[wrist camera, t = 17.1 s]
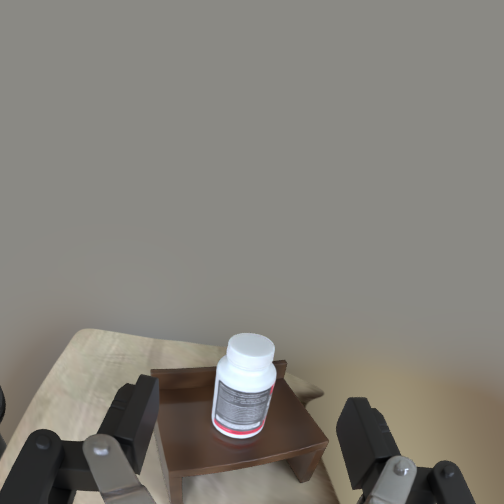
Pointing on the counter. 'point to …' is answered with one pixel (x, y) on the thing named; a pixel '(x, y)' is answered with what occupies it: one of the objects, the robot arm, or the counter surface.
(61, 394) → the counter surface
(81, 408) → the counter surface
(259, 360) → the pill bottle
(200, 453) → the spice shelf
